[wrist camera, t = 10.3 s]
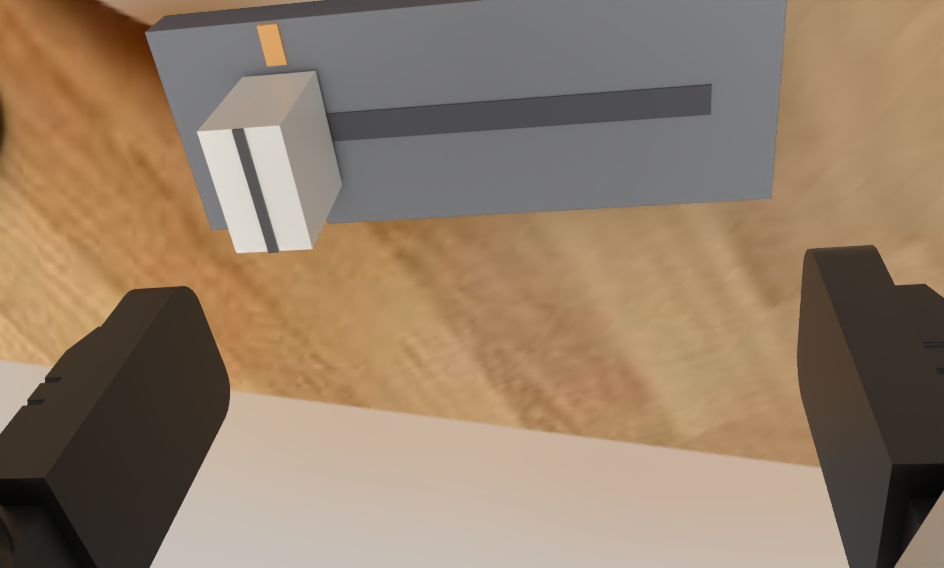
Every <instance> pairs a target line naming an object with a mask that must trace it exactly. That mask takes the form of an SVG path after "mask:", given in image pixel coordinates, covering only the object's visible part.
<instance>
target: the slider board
mask: <svg viewBox="0 0 944 568" xmlns="http://www.w3.org/2000/svg"><path fill="white" fill-rule="evenodd" d="M786 5H787V0H323V1H313V2H302V3H292V4H282V5H271V6H262V7H250V8H240V9H230V10H220V11H209V12H199V13H189V14H178V15H169V16H164V17H163V18H162V19H160V20H159V21H158V22H157V23H156V24H154V25H153V26H152V27H151V28H150V29H148V30H147V31H146V32H145V34H146V37H147V40H148V43H149V46H150V49H151V52H152V55H153V58H154V61H155V64H156V67H157V70H158V73H159V75H160V78H161V81H162V84H163V87H164V90H165V93H166V96H167V99H168V102H169V105H170V108H171V111H172V114H173V117H174V120H175V123H176V126H177V129H178V132H179V135H180V138H181V141H182V144H183V146H184V149H185V152H186V155H187V158H188V161H189V164H190V167H191V170H192V173H193V176H194V179H195V182H196V185H197V188H198V191H199V194H200V197H201V200H202V203H203V206H204V209H205V212H206V214H207V217H208V220H209V223H210V226H211V229H212V230H226V229H228V226H227V223H226V220H225V217H224V214H223V211H222V207H221V204H220V201H219V198H218V195H217V192H216V189H215V186H214V183H213V180H212V177H211V174H210V171H209V168H208V164H207V161H206V158H205V155H204V152H203V149H202V146H201V143H200V140H199V137H198V134H197V131H198V130H199V128H200V127H201V126H202V125H203V124H204V122H205V121H206V120H207V119H208V118H209V116H210V115H211V114H212V113H213V112H214V110H215V109H216V108H217V107H218V106H219V104H220V103H221V102H222V101H223V100H224V98H225V97H226V96H227V95H228V94H229V92H230V91H231V90H232V89H233V88H234V86H235V85H236V84H237V83H238V82H239V80H240V79H241V78H242V77H248V76H260V75H272V74H284V73H296V72H308V71H316V74H317V78H318V83H319V87H320V91H321V95H322V100H323V104H324V108H325V113H326V117H327V121H328V126H329V130H330V134H331V138H332V143H333V147H334V151H335V156H336V160H337V164H338V169H339V173H340V177H341V181H342V187H341V189H340V191H339V193H338V195H337V198H336V200H335V202H334V204H333V206H332V208H331V210H330V213H329V215H328V217H327V219H326V221H325V223H324V224H332V223H350V222H368V221H385V220H403V219H421V218H438V217H456V216H474V215H492V214H509V213H527V212H545V211H562V210H580V209H598V208H616V207H633V206H651V205H669V204H687V203H704V202H722V201H740V200H757V199H771V197H772V184H773V171H774V158H775V146H776V133H777V120H778V107H779V94H780V82H781V69H782V56H783V43H784V30H785V18H786Z"/></svg>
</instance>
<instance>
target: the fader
mask: <svg viewBox="0 0 944 568" xmlns="http://www.w3.org/2000/svg"><path fill="white" fill-rule="evenodd" d="M197 134H198V137H199V140H200V143H201V146H202V149H203V152H204V155H205V158H206V161H207V164H208V168H209V171H210V174H211V177H212V180H213V183H214V186H215V189H216V192H217V195H218V198H219V201H220V204H221V207H222V211H223V214H224V217H225V220H226V223H227V226H228V229H229V232H230V235H231V238H232V241H233V244H234V247H235V250H236V253H248V252H267V251H268V253H275V252H279V251H287V250H306V249H313V247H314V245H315V243H316V241H317V239H318V236H319V234H320V232H321V230H322V228H323V226H324V223H325V221H326V219H327V217H328V215H329V213H330V210H331V208H332V206H333V204H334V202H335V200H336V198H337V195H338V193H339V191H340V189H341V187H342V181H341V177H340V173H339V169H338V164H337V160H336V156H335V151H334V147H333V143H332V138H331V134H330V130H329V126H328V121H327V117H326V113H325V108H324V104H323V100H322V95H321V91H320V87H319V83H318V78H317V74H316V71H308V72H296V73H284V74H272V75H260V76H248V77H242V78H241V79H240V80H239V82H238V83H237V84H236V85H235V86H234V88H233V89H232V90H231V91H230V92H229V94H228V95H227V96H226V97H225V98H224V100H223V101H222V102H221V103H220V104H219V106H218V107H217V108H216V109H215V110H214V112H213V113H212V114H211V115H210V116H209V118H208V119H207V120H206V121H205V122H204V124H203V125H202V126H201V127H200V128H199V130H198V131H197Z"/></svg>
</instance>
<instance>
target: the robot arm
mask: <svg viewBox="0 0 944 568" xmlns="http://www.w3.org/2000/svg"><path fill="white" fill-rule="evenodd" d="M797 366H798V379H799V387H800V393H801V398H802V401H803V405H804V409H805V412H806V416H807V419H808V423H809V426H810V430H811V433H812V437H813V440H814V444H815V447H816V451H817V455H818V458H819V462H820V465H821V469H822V472H823V476H824V479H825V483H826V486H827V490H828V493H829V497H830V500H831V503H832V507H833V511H834V514H835V518H836V522H837V525H838V529H839V532H840V536H841V539H842V543H843V546H844V550H845V553H846V556H847V560H848V564H849V567H850V568H944V298H943V297H942V296H941V295H939V294H938V293H936V292H935V291H934V290H932V289H931V288H930V287H928V286H927V285H926V284H915V285H897V286H895V284H894V282H893V280H892V278H891V276H890V274H889V272H888V270H887V268H886V266H885V264H884V262H883V260H882V258H881V256H880V254H879V252H878V250H877V248H876V247H875V246H873V245H865V246H848V247H832V248H816V249H808V250H807V251H806V253H805V257H804V262H803V274H802V289H801V303H800V318H799V332H798V347H797ZM229 400H230V384H229V378H228V374H227V371H226V368H225V365H224V363H223V360H222V358H221V355H220V353H219V350H218V348H217V345H216V343H215V340H214V337H213V335H212V332H211V330H210V327H209V325H208V322H207V320H206V317H205V315H204V312H203V309H202V307H201V304H200V302H199V300H198V298H197V296H196V294H195V293H194V292H193V291H192V290H191V289H190V288H189V287H186V286H178V287H162V288H146V289H134V290H131V291H129V292H128V293H127V294H126V295H125V296H124V297H123V299H122V300H121V301H120V303H119V304H118V305H117V307H116V308H115V309H114V310H113V312H112V313H111V314H110V316H109V317H108V318H107V320H106V321H105V322H104V323H103V325H102V326H101V327H97V328H96V329H95V330H93V331H92V332H91V333H89V334H88V335H87V336H85V337H84V338H83V339H81V340H80V341H79V342H77V343H76V344H75V345H73V346H72V347H71V348H69V349H68V350H67V351H66V352H65V353H64V354H63V355H62V357H61V358H60V359H59V361H58V362H57V363H56V364H55V366H54V367H53V368H52V369H51V371H50V372H49V373H48V375H47V376H46V377H45V383H40V384H39V386H38V387H37V388H36V390H35V391H34V392H33V393H32V395H31V396H30V397H29V398H28V400H27V401H28V404H27V406H22V407H21V409H20V410H19V411H18V412H17V413H16V415H15V416H14V417H13V419H12V420H11V421H10V422H9V424H8V425H7V426H6V427H5V429H4V430H3V431H2V433H1V434H0V568H150V566H151V564H152V562H153V560H154V558H155V556H156V554H157V552H158V550H159V548H160V546H161V544H162V542H163V540H164V538H165V536H166V534H167V532H168V530H169V528H170V526H171V524H172V522H173V520H174V518H175V516H176V514H177V512H178V510H179V508H180V506H181V504H182V502H183V500H184V498H185V496H186V494H187V492H188V490H189V488H190V487H191V484H192V482H193V481H194V479H195V477H196V475H197V473H198V470H199V469H200V467H201V465H202V463H203V461H204V459H205V457H206V455H207V453H208V451H209V449H210V447H211V445H212V443H213V441H214V439H215V437H216V435H217V433H218V431H219V429H220V427H221V425H222V423H223V421H224V419H225V417H226V414H227V411H228V407H229Z"/></svg>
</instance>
